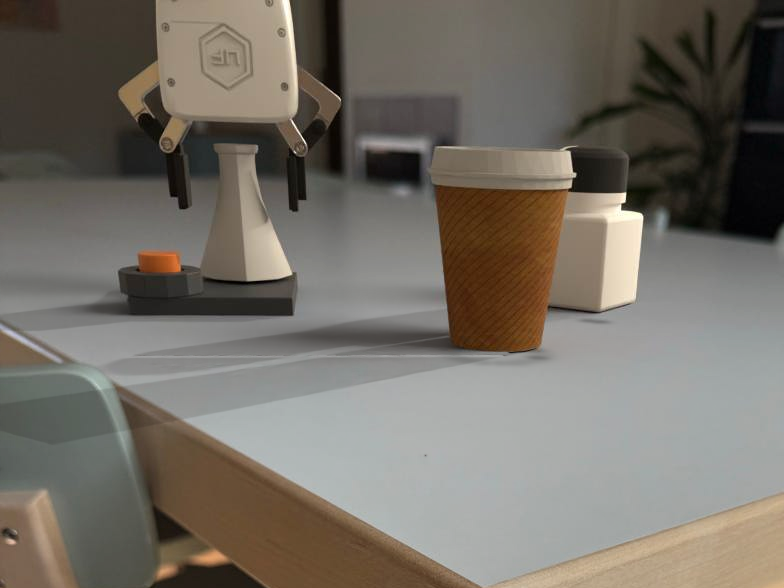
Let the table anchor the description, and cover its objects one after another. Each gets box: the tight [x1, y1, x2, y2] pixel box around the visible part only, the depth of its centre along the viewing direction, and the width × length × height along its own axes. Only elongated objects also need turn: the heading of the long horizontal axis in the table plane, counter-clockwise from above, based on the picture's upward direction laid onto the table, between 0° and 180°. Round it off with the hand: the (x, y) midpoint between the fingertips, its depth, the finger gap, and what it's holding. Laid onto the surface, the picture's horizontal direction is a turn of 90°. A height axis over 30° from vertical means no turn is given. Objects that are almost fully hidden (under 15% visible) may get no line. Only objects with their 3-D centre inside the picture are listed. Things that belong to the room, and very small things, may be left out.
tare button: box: [137, 250, 181, 273], centre depth 74 cm, size 3×3×2 cm
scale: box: [117, 264, 299, 317], centre depth 79 cm, size 13×14×3 cm
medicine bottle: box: [548, 145, 644, 313], centre depth 81 cm, size 7×7×12 cm
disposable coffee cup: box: [426, 145, 576, 353], centre depth 65 cm, size 10×10×12 cm
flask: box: [199, 143, 293, 282], centre depth 80 cm, size 7×7×10 cm
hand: (240, 208), depth 80 cm, fingers open, 8 cm apart
